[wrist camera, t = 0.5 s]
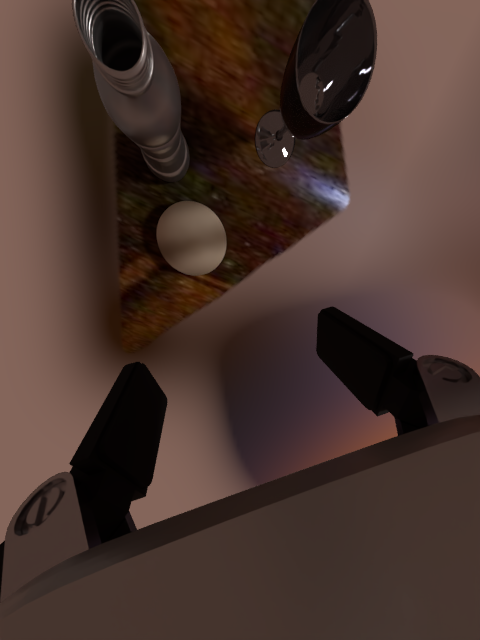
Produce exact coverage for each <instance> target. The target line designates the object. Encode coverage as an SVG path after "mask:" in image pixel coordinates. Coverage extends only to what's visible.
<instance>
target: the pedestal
mask: <svg viewBox="0 0 480 640" xmlns="http://www.w3.org/2000/svg"><path fill="white" fill-rule="evenodd" d="M157 242H158V246H159V249H160V251H161V253H162V255H163V257H164V258H165V260H166V261H167V262H168V263H169V264H170V265H171V266H172V267H173V268H175V269H176V270H178V271H180V272H182V273H185V274H188V275H203V274H206V273H209V272H211V271H212V270H214V269H215V268H216V267H217V266H218V265H219V264H220V262H221V261H222V259H223V257H224V254H225V251H226V234H225V230H224V228H223V225H222V223H221V221H220V220H219V218H218V217H217V216H216V214H215V213H214V212H213V211H212V210H210V209H209V208H208V207H206V206H204V205H202V204H200V203H197V202H193V201H182V202H178V203H175V204H173V205H171V206H170V207H168V208H167V209H166V210H165V211H164V213H163V214H162V215H161V217H160V219H159V222H158V226H157Z"/></svg>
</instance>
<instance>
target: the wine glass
mask: <svg viewBox="0 0 480 640" xmlns="http://www.w3.org/2000/svg"><path fill="white" fill-rule="evenodd" d="M376 51H377V30H376V22H375V17H374V14H373V10H372V7H371V5H370V3H369V0H316V2H315V3H314V4H313V6H312V8H311V10H310V11H309V13H308V15H307V17H306V19H305V21H304V23H303V25H302V27H301V29H300V31H299V34H298V36H297V38H296V41H295V43H294V45H293V48H292V50H291V53H290V56H289V59H288V62H287V65H286V68H285V72H284V76H283V81H282V85H281V92H280V110H271V111H269V112H267V113H266V114H265V115H263V117H262V118H261V120H260V121H259V123H258V126H257V129H256V134H255V145H256V150H257V153H258V155H259V157H260V159H261V160H262V162H263V163H264V164H266V165H267V166H269V167H272V168H277V167H280V166H282V165H284V164H285V163H286V162H287V161H288V160H289V158H290V157H291V155H292V152H293V149H294V145H295V138H297V139H301V140H305V139H311V138H314V137H317V136H319V135H321V134H323V133H325V132H327V131H329V130H330V129H332V128H333V127H335V126H336V125H337V124H339V123H340V122H341V121H342V120H343V119H345V118H346V117H347V116H348V115H349V114H350V113H351V112H352V111H353V110H354V109H355V108H356V107H357V106H358V104H359V103H360V101H361V100H362V98H363V96H364V94H365V92H366V90H367V88H368V85H369V82H370V80H371V76H372V73H373V69H374V65H375V59H376Z"/></svg>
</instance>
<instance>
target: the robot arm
mask: <svg viewBox="0 0 480 640" xmlns="http://www.w3.org/2000/svg"><path fill="white" fill-rule="evenodd" d="M316 351H317V354H318V356H319V358H320V359H321V360H322V361H323V362H324V363H325V364H326V365H327V366H328V367H329V368H330V369H331V371H332V372H333V373H334V374H335V375H336V376H337V377H338V378H339V379H340V380H341V381H342V382H343V383H344V385H345V386H346V387H347V388H348V389H349V390H350V391H351V392H352V393H353V394H354V396H356V398H357V399H358V400H359V401H360V402H361V403H362V404H363V405H364V406H365V407H366V408H367V409H368V410H372V411H373V412H374V413H375V414H376V416H380V415H383V414H385V413H388V412H390V413H391V414H392V415H393V416H394V418H395V423H396V428H397V433H398V436H397V437H394V438H391V439H388V440H385V441H382V442H379V443H377V444H374V445H371V446H368V447H365V448H362V449H360V450H357V451H354V452H351V453H348V454H345V455H343V456H340V457H337V458H334V459H331V460H328V461H326V462H323V463H320V464H317V465H314V466H312V467H309V468H306V469H303V470H300V471H298V472H295V473H292V474H289V475H287V476H284V477H281V478H278V479H275V480H273V481H270V482H267V483H264V484H262V485H259V486H256V487H253V488H250V489H248V490H245V491H242V492H240V493H237V494H234V495H231V496H228V497H226V498H223V499H220V500H217V501H215V502H212V503H209V504H206V505H204V506H201V507H198V508H195V509H193V510H191V511H187V512H184V513H182V514H179V515H176V516H173V517H171V518H168V519H165V520H163V521H160V522H157V523H154V524H152V525H149V526H147V527H144V528H141V529H139V530H137V528H136V526H135V524H134V521H133V519H132V517H131V514H130V512H129V508H130V504H131V501H134V500H137V499H140V498H143V497H145V496H146V493H147V488H148V486H149V485H150V484H151V482H152V479H153V474H154V469H155V464H156V458H157V453H158V448H159V443H160V438H161V433H162V427H163V422H164V417H165V412H166V407H167V397H166V395H165V394H164V392H163V391H162V390H161V388H160V386H159V385H158V383H157V382H156V380H155V379H154V377H153V376H152V375H151V373H150V371H149V370H148V368H147V367H146V365H145V364H143V363H142V364H141V363H140V362H135V363H131V364H128V365H125V366H124V367H123V369H122V371H121V373H120V374H119V376H118V378H117V380H116V382H115V383H114V385H113V387H112V389H111V391H110V393H109V394H108V396H107V398H106V399H105V401H104V403H103V405H102V406H101V408H100V410H99V412H98V414H97V415H96V417H95V419H94V421H93V422H92V424H91V426H90V428H89V430H88V431H87V433H86V435H85V437H84V438H83V440H82V442H81V444H80V446H79V447H78V449H77V451H76V453H75V455H74V456H73V458H72V460H71V462H70V465H72V466H73V467H72V469H71V471H70V473H68V472H62V473H58V474H56V475H55V476H52V477H51V478H49V479H48V480H47V481H45V482H44V483H42V484H41V485H40V486H39V487H38V488H37V489H35V490H34V491H33V493H31V494H30V495H29V497H28V498H27V499H26V500H25V501H24V502H23V503H22V505H21V506H20V507H19V509H18V510H17V512H16V513H15V515H14V516H13V518H12V520H11V522H10V524H9V526H8V528H7V532H6V536H5V541H4V542H3V543H1V544H0V640H480V377H479V376H478V374H477V373H476V372H475V371H474V370H473V369H471V368H470V367H468V366H467V365H465V364H463V363H461V362H459V361H457V360H453V359H451V358H448V357H443V356H438V355H425V356H422V357H419V358H418V360H417V361H416V360H414V359H413V358H412V356H413V353H412V352H410V351H408V350H406V349H405V348H403V347H401V346H400V345H398V344H396V343H395V342H393V341H391V340H389V339H388V338H386V337H384V336H383V335H381V334H379V333H378V332H376V331H374V330H372V329H371V328H369V327H367V326H365V325H364V324H362V323H360V322H359V321H357V320H355V319H354V318H352V317H350V316H349V315H347V314H345V313H343V312H342V311H340V310H338V309H337V308H335V307H329V308H326V309H322V310H321V311H320V313H319V314H318V327H317V348H316Z"/></svg>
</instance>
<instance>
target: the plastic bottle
mask: <svg viewBox="0 0 480 640" xmlns="http://www.w3.org/2000/svg"><path fill="white" fill-rule="evenodd" d="M72 9H73V16H74V20H75V23H76V27H77V30H78V32H79V35H80V37H81V40H82V42H83V44H84V46H85V47H86V49H87V51H88V52H89V54H90V55H91V58H92V60H93V68H94V76H95V80H96V84H97V88H98V91H99V94H100V97H101V100H102V102H103V105H104V107H105V108H106V111H107V112H108V114H109V116H110V117H111V119H112V120H113V121H114V123H115V124H116V125H117V126H118V128H119V129H120V130H121V131H122V132H123V133H124V134H125V135H126V136H127V137H128V138H130V139H131V140H132V141H133V142H134V143H136V144H137V145H138V146H139V148H140V149H141V152H142V155H143V158H144V160H145V162H146V164H147V166H148V168H149V169H150V170H151V172H152V173H153V174H154V175H155V176H157V177H158V178H160V179H162V180H164V181H167V182H176V181H179V180H181V179H182V178H183V177H184V175H185V174H186V172H187V170H188V167H189V161H190V155H189V149H188V145H187V143H186V140H185V138H184V136H183V134H182V132H181V129H180V121H181V98H180V90H179V86H178V81H177V78H176V75H175V73H174V70H173V68H172V66H171V64H170V62H169V60H168V58H167V57H166V55H165V53H164V51H163V50H162V48H161V47H160V45H159V44H158V43H157V41H156V40H155V39H154V38H153V37H152V36H151V35H150V34H149V33H148V32H147V31H146V29H145V27H144V24H143V21H142V18H141V15H140V13H139V10H138V8H137V6H136V4H135V2H134V0H72Z"/></svg>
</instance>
